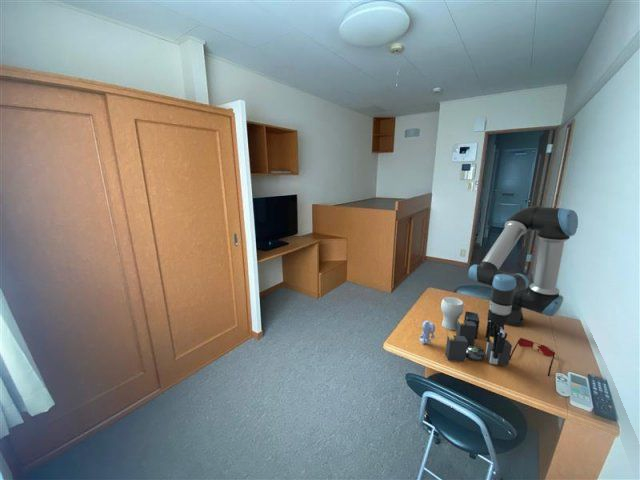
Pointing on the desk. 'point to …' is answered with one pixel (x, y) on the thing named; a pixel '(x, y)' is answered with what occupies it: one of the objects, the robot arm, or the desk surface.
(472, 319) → the box
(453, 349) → the dark grey block
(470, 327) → the grey tan block
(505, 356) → the dark grey tan-ended block
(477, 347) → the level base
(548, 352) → the glasses
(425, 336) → the toy figurine
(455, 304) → the cup
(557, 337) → the desk surface
